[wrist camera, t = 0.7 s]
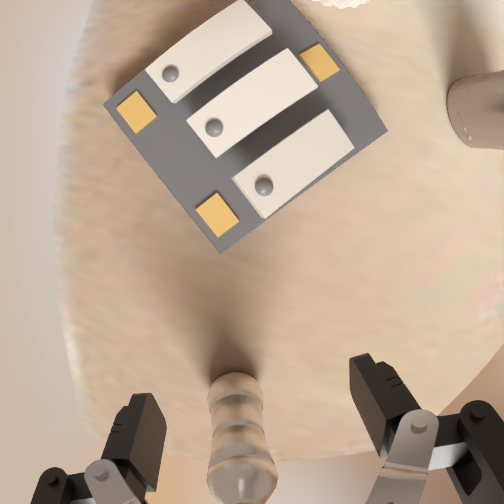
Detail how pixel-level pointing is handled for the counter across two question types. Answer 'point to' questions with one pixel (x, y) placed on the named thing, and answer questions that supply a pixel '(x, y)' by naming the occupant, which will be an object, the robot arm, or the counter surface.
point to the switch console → (254, 144)
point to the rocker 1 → (207, 49)
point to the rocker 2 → (293, 163)
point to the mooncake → (342, 3)
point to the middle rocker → (251, 102)
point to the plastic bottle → (239, 442)
